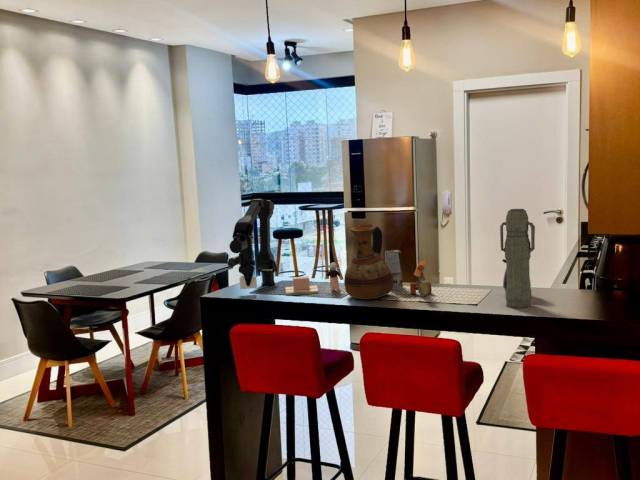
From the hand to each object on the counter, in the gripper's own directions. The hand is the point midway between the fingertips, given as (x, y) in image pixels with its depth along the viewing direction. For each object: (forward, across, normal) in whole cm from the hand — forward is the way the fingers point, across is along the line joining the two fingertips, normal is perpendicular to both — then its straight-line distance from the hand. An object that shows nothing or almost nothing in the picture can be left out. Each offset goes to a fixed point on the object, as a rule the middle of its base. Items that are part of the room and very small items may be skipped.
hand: (248, 285), depth 272 cm
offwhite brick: (+1, 0, 0) cm, 1 cm away
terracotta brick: (+3, 0, +23) cm, 23 cm away
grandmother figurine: (+4, +5, +37) cm, 38 cm away
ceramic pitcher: (+4, +21, +50) cm, 54 cm away
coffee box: (+4, +7, +63) cm, 64 cm away
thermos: (+4, +53, +100) cm, 113 cm away
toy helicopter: (+4, +28, +70) cm, 76 cm away
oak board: (+4, 0, +23) cm, 23 cm away
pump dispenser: (+4, +38, +105) cm, 112 cm away
